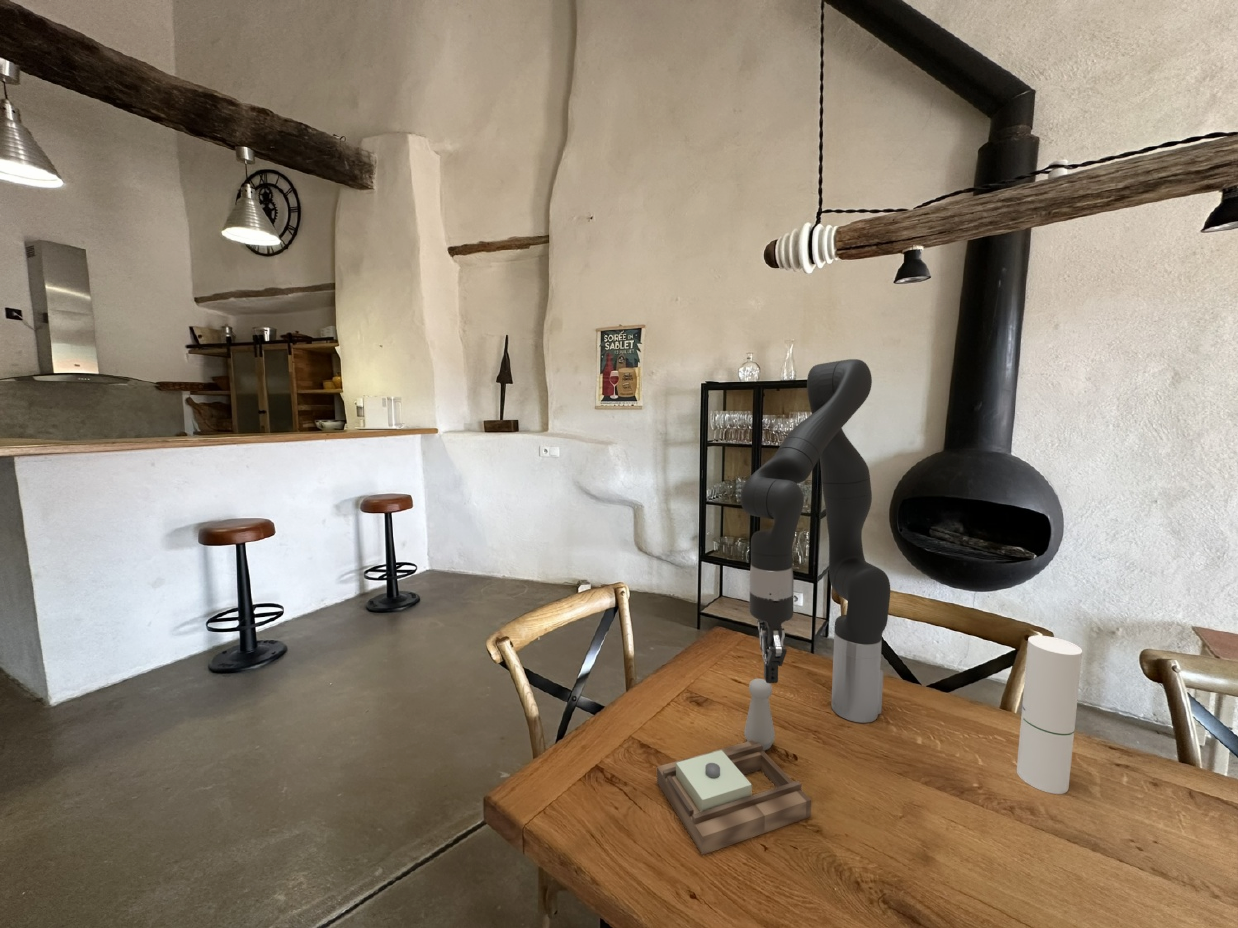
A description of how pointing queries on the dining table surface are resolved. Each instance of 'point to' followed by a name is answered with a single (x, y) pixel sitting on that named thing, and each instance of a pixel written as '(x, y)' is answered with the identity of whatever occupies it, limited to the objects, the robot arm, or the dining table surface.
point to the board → (738, 802)
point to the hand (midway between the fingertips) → (771, 681)
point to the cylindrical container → (1049, 713)
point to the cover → (712, 780)
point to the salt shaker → (760, 715)
